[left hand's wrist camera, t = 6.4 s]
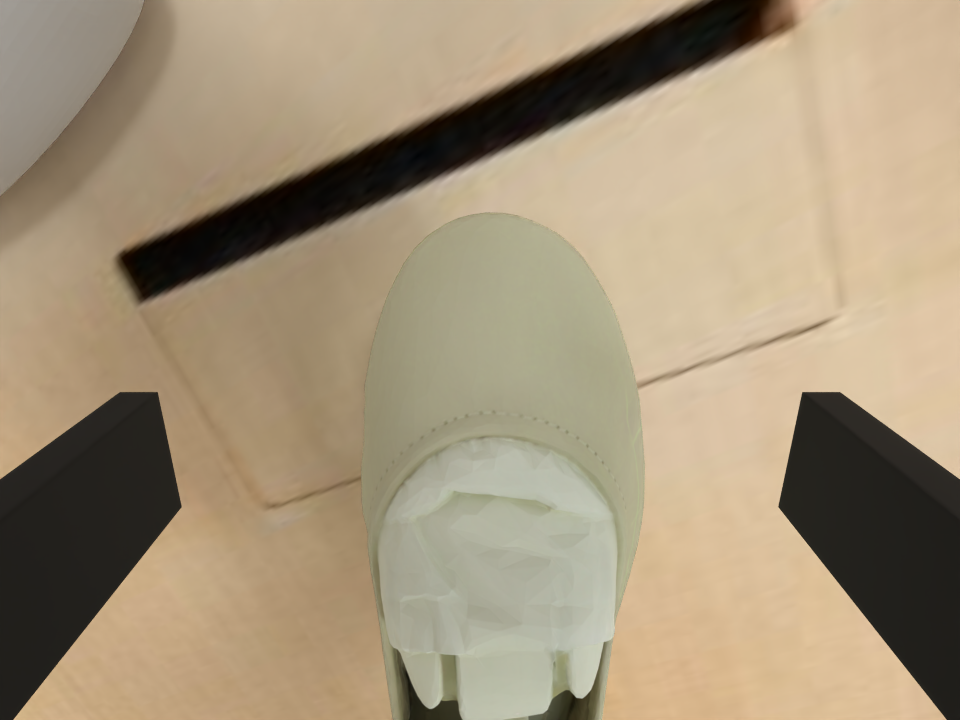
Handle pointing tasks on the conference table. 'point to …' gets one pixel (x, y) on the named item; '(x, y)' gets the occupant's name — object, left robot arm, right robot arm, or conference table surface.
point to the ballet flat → (499, 476)
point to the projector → (52, 69)
